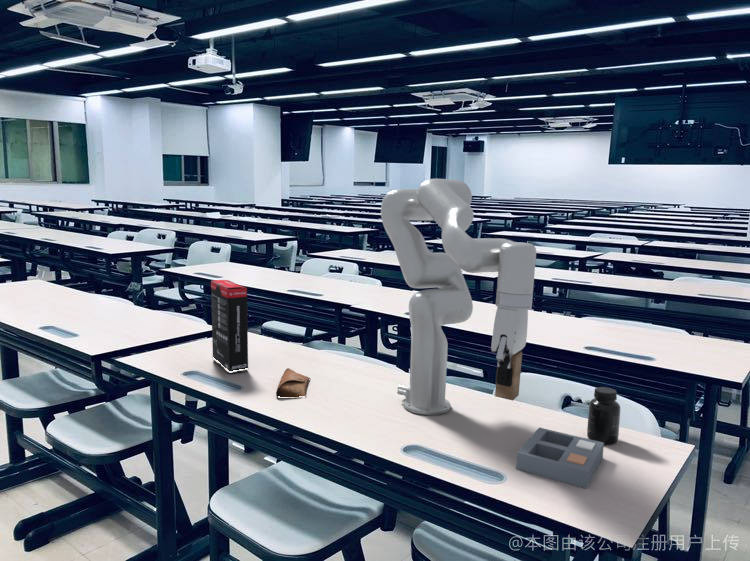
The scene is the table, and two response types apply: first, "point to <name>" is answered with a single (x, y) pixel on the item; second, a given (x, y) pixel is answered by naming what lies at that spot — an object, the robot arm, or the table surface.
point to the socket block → (560, 457)
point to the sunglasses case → (292, 384)
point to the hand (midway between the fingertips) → (507, 381)
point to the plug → (513, 390)
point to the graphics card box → (229, 324)
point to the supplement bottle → (604, 416)
